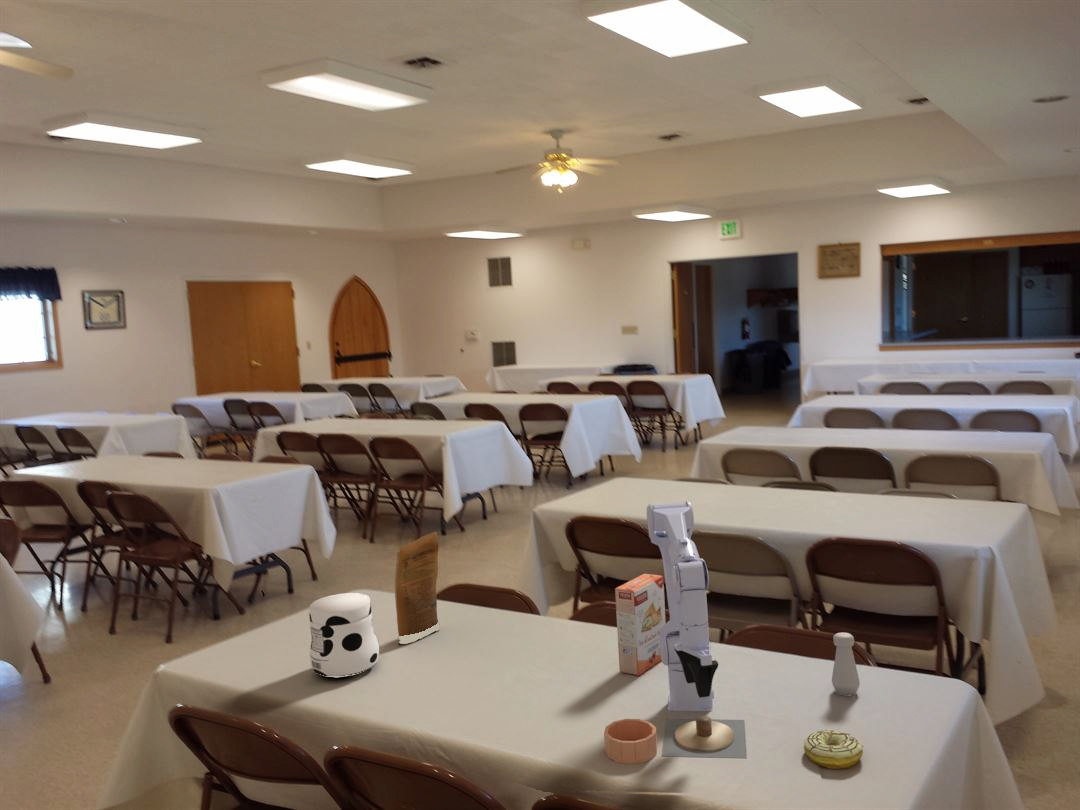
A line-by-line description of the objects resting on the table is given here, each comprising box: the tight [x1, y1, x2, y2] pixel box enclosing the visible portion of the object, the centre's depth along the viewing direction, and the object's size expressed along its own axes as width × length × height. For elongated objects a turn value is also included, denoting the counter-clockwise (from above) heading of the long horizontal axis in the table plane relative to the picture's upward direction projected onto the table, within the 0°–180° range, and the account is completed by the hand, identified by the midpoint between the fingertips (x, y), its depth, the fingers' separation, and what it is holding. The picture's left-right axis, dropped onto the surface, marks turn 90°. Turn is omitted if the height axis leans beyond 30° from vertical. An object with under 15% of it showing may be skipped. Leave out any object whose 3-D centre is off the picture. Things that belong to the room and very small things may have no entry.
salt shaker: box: [831, 632, 861, 696], centre depth 196 cm, size 6×6×13 cm
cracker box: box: [614, 573, 667, 677], centre depth 219 cm, size 14×6×21 cm, turn 143°
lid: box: [675, 715, 734, 751], centre depth 180 cm, size 12×12×4 cm
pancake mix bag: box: [394, 531, 439, 637], centre depth 251 cm, size 7×19×28 cm, turn 144°
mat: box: [661, 718, 748, 759], centre depth 180 cm, size 16×16×1 cm
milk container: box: [308, 592, 380, 676], centre depth 231 cm, size 17×17×18 cm
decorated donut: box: [803, 729, 864, 770], centre depth 169 cm, size 10×11×4 cm
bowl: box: [603, 718, 658, 764], centre depth 177 cm, size 10×10×4 cm
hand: (697, 689), depth 179 cm, fingers open, 7 cm apart
